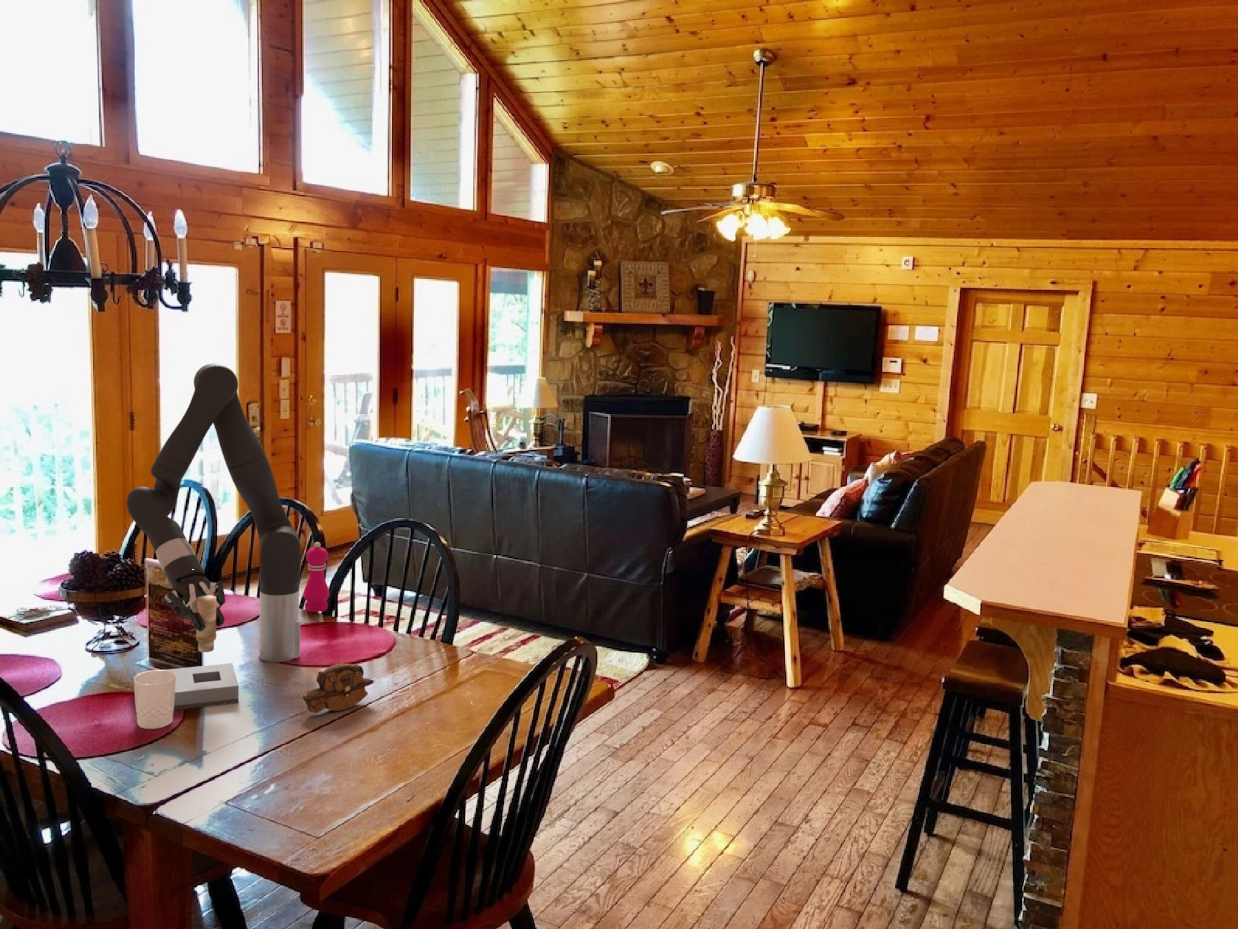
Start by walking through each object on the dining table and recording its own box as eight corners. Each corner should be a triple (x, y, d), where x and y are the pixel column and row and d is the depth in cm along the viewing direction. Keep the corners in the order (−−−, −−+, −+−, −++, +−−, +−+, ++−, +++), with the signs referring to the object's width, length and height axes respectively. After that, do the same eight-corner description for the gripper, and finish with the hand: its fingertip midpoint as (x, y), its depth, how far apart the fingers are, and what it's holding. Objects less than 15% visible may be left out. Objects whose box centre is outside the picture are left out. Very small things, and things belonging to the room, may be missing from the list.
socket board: (232, 679, 225) (232, 663, 224) (238, 702, 213) (238, 685, 212) (136, 689, 216) (136, 672, 215) (137, 714, 203) (137, 696, 203)
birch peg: (215, 645, 217) (216, 594, 215) (217, 652, 213) (217, 600, 211) (195, 647, 215) (195, 596, 213) (196, 653, 211) (196, 601, 210)
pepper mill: (333, 606, 282) (334, 540, 278) (323, 613, 274) (324, 546, 271) (309, 604, 282) (310, 538, 279) (298, 611, 275) (299, 543, 272)
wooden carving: (312, 723, 205) (313, 678, 204) (300, 716, 208) (301, 672, 207) (376, 702, 218) (377, 660, 216) (364, 696, 221) (365, 655, 219)
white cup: (184, 719, 203) (184, 674, 201) (155, 733, 196) (155, 687, 194) (155, 711, 205) (154, 667, 204) (125, 725, 198) (124, 679, 196)
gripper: (156, 559, 209) (189, 626, 205) (215, 548, 221) (247, 611, 216) (142, 577, 213) (174, 643, 208) (200, 566, 225) (232, 628, 220)
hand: (211, 626), depth 212 cm, fingers closed on birch peg, 4 cm apart
